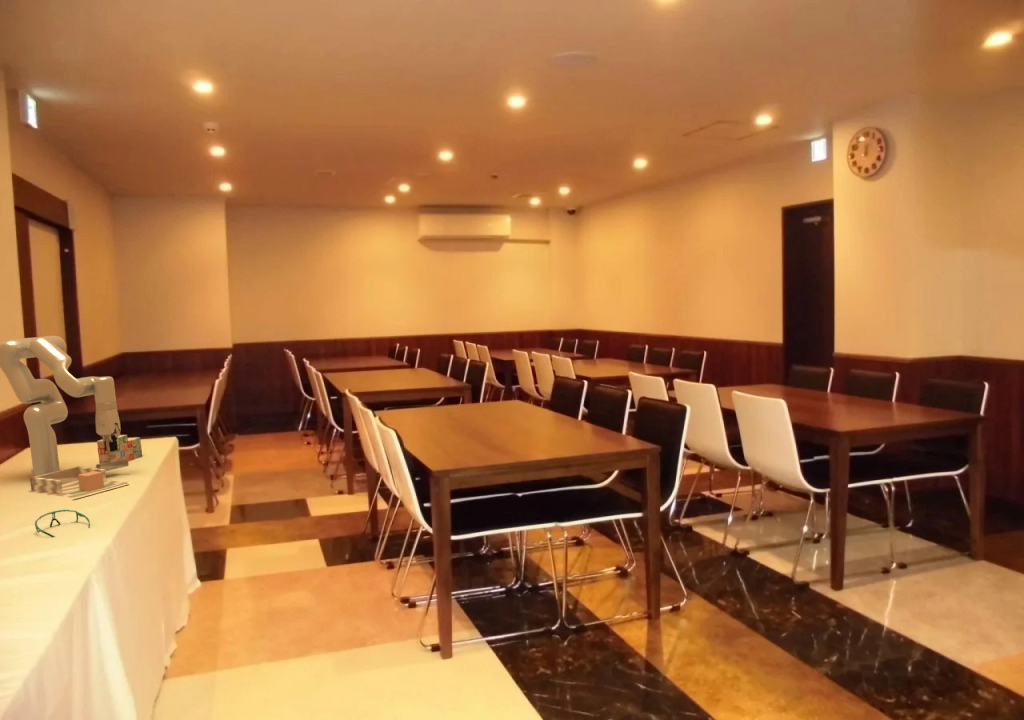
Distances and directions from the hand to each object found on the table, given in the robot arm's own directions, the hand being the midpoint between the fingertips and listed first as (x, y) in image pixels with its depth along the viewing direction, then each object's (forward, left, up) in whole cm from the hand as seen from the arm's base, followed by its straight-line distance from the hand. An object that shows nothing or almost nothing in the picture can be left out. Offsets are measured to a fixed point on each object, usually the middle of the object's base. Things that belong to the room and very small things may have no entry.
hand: (111, 450), depth 311 cm
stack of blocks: (-27, +21, -12) cm, 36 cm away
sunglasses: (+52, -52, -12) cm, 75 cm away
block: (+14, -18, -10) cm, 25 cm away
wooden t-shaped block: (0, 0, -8) cm, 8 cm away
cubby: (+5, -18, -11) cm, 22 cm away
